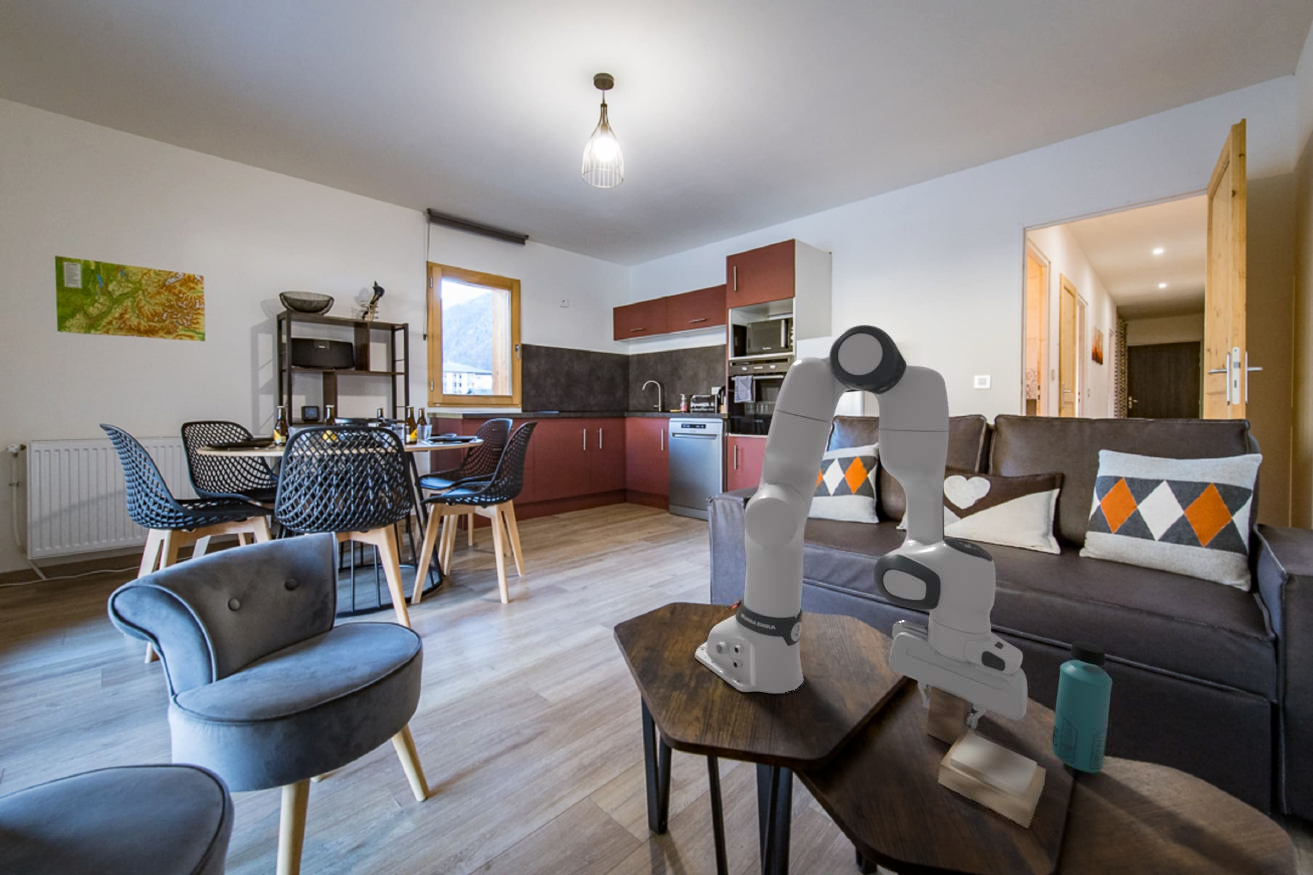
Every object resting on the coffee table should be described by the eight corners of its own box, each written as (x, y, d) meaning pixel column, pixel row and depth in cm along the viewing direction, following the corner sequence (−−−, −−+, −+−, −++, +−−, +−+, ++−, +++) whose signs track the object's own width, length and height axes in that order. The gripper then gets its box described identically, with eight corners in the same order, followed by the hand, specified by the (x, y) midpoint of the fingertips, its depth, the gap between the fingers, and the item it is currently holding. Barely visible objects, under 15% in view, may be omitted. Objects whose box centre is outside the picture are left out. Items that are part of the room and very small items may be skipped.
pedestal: (938, 782, 76) (940, 756, 75) (960, 749, 83) (962, 725, 83) (1028, 829, 68) (1031, 801, 68) (1043, 788, 76) (1046, 762, 75)
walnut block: (926, 732, 87) (930, 687, 86) (936, 720, 90) (940, 677, 90) (959, 748, 83) (964, 701, 83) (968, 735, 87) (973, 690, 86)
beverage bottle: (1112, 786, 77) (1129, 658, 75) (1062, 778, 78) (1077, 652, 76) (1085, 757, 83) (1100, 638, 81) (1039, 749, 84) (1053, 632, 83)
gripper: (886, 621, 91) (879, 695, 92) (1026, 669, 76) (1015, 757, 77) (900, 612, 95) (893, 682, 96) (1034, 656, 80) (1024, 739, 82)
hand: (949, 716), depth 87 cm, fingers closed on walnut block, 5 cm apart
